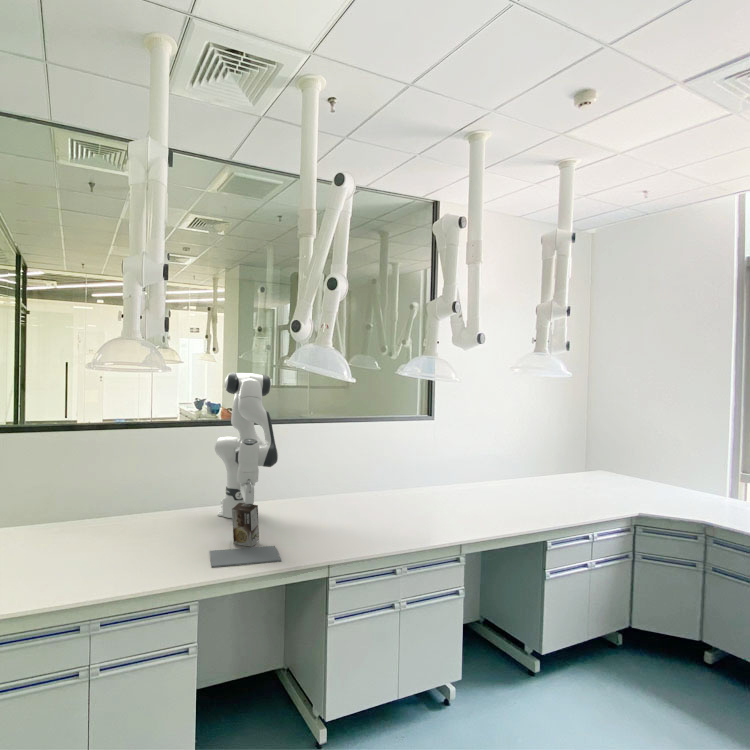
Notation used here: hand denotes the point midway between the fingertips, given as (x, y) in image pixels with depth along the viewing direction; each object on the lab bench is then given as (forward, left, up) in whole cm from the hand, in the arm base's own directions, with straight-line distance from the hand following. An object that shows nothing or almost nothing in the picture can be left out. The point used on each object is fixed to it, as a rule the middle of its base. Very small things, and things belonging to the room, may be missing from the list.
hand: (246, 509), depth 221 cm
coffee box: (+3, 0, -13) cm, 14 cm away
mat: (+18, -2, -14) cm, 23 cm away
